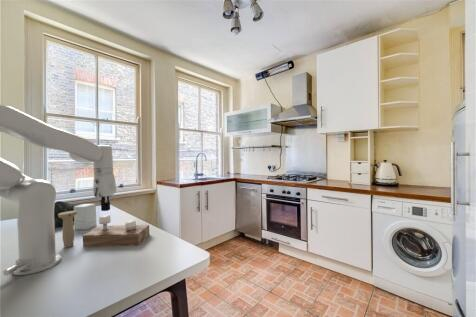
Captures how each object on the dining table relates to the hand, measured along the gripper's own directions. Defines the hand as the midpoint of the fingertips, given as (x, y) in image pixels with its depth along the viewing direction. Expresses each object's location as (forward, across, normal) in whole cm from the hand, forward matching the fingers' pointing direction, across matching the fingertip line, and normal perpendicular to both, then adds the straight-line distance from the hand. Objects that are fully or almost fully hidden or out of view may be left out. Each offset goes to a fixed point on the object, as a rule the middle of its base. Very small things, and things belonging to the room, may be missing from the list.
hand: (105, 210), depth 95 cm
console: (+14, -1, -6) cm, 15 cm away
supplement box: (+15, +18, +23) cm, 33 cm away
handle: (+14, -6, +13) cm, 20 cm away
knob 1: (+10, -1, 0) cm, 10 cm away
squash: (+14, +24, +41) cm, 50 cm away
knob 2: (+13, -1, -12) cm, 18 cm away
